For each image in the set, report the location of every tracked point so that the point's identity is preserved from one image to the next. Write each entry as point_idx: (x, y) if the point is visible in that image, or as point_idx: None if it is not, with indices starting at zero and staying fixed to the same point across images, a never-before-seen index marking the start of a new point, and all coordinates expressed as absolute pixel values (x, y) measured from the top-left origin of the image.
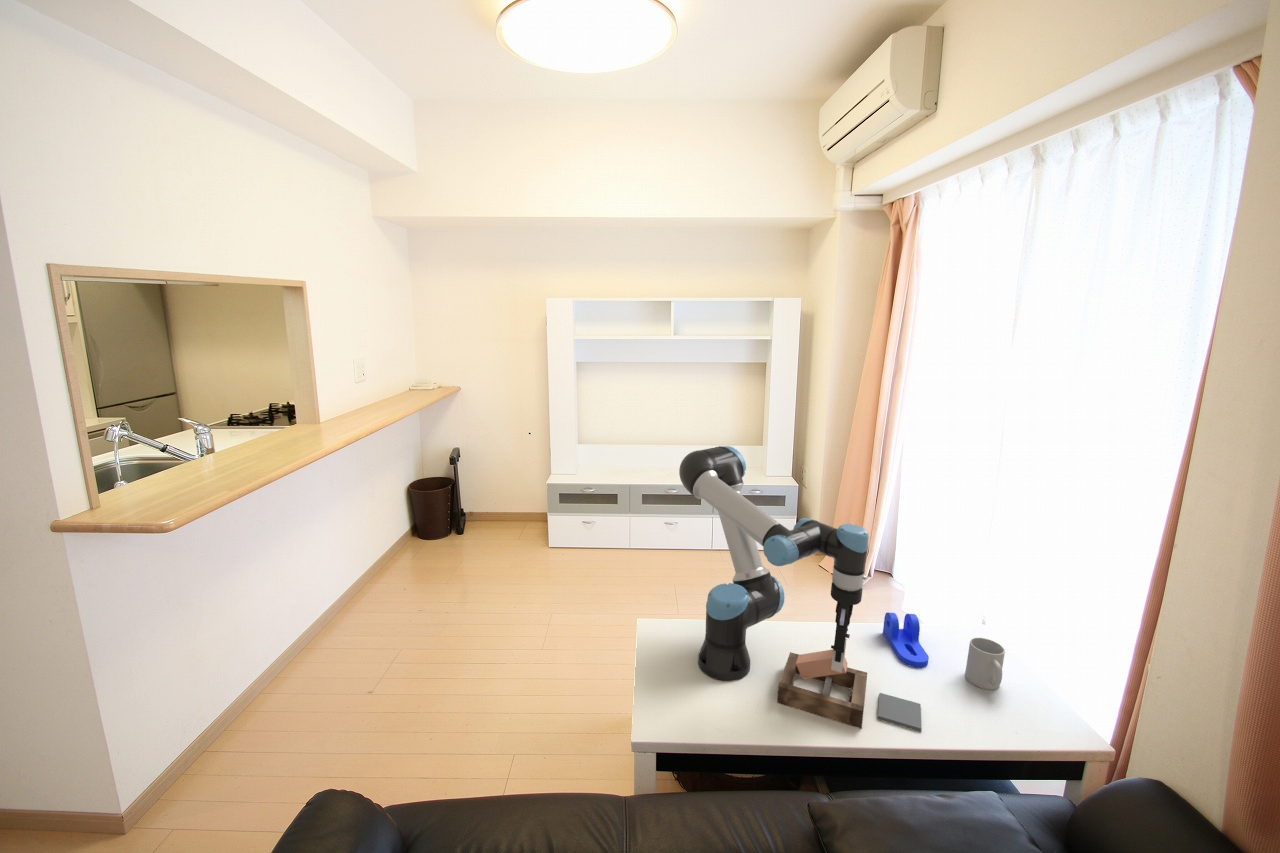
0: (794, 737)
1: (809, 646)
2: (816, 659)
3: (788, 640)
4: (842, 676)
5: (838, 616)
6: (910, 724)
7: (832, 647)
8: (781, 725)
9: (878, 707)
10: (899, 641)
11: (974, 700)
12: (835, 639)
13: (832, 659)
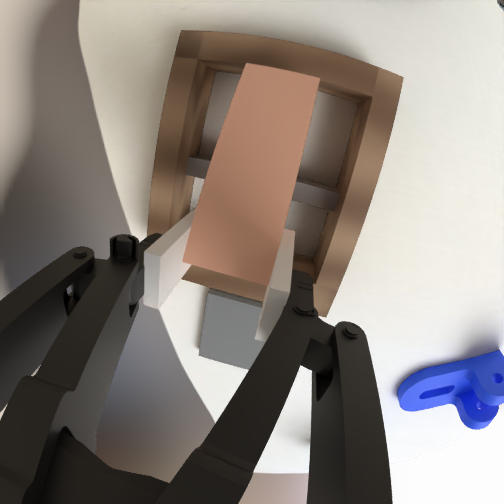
0: (101, 101)
1: (486, 177)
2: (224, 145)
3: (501, 123)
4: (326, 241)
5: (197, 448)
6: (203, 342)
7: (111, 245)
8: (126, 68)
9: (245, 301)
10: (463, 379)
11: (309, 429)
12: (23, 288)
13: (178, 223)
